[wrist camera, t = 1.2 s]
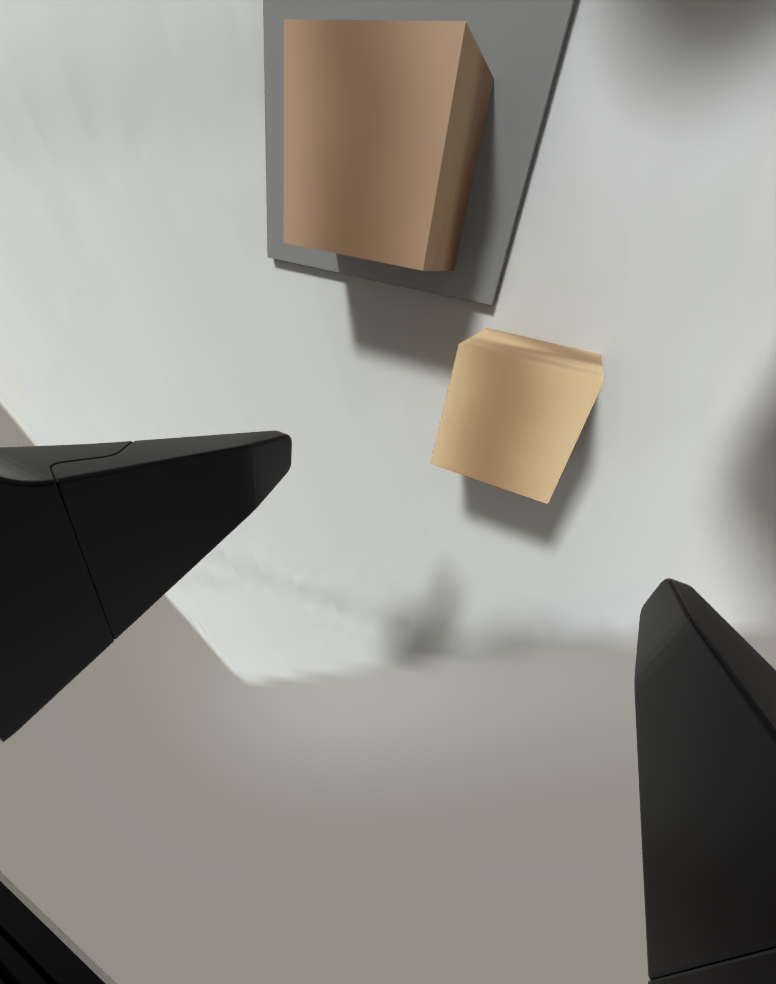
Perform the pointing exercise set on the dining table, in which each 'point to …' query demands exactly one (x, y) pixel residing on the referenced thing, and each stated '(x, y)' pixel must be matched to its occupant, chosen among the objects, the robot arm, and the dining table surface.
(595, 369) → the oak cube
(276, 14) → the slate mat
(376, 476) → the dining table surface
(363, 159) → the walnut block
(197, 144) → the dining table surface
